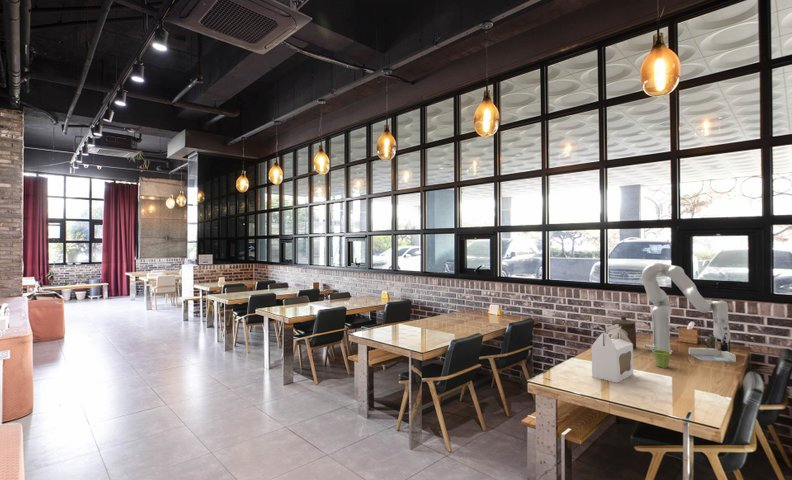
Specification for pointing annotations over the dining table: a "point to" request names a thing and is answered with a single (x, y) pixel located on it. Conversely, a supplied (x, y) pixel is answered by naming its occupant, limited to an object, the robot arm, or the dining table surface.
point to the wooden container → (627, 329)
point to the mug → (713, 342)
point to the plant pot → (662, 358)
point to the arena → (712, 354)
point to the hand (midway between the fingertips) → (721, 349)
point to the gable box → (612, 355)
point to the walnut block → (719, 345)
